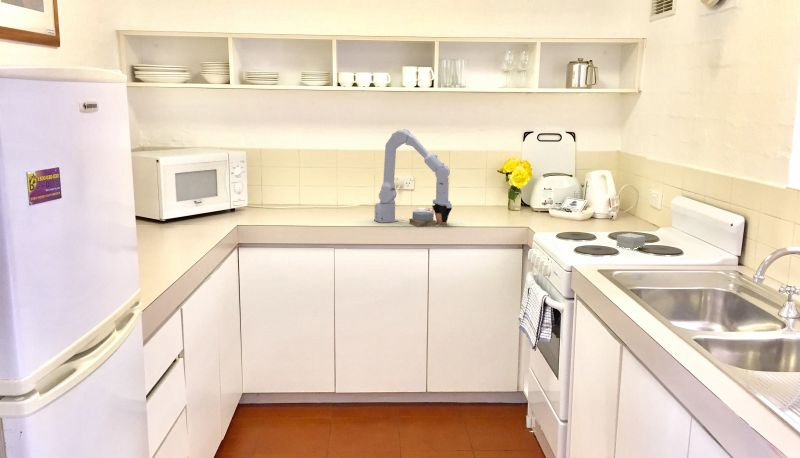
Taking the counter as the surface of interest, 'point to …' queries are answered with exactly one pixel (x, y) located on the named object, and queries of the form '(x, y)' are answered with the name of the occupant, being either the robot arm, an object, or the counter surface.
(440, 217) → the terracotta cylinder
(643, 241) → the small box
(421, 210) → the ink box
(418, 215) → the slate block
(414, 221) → the walnut slab
